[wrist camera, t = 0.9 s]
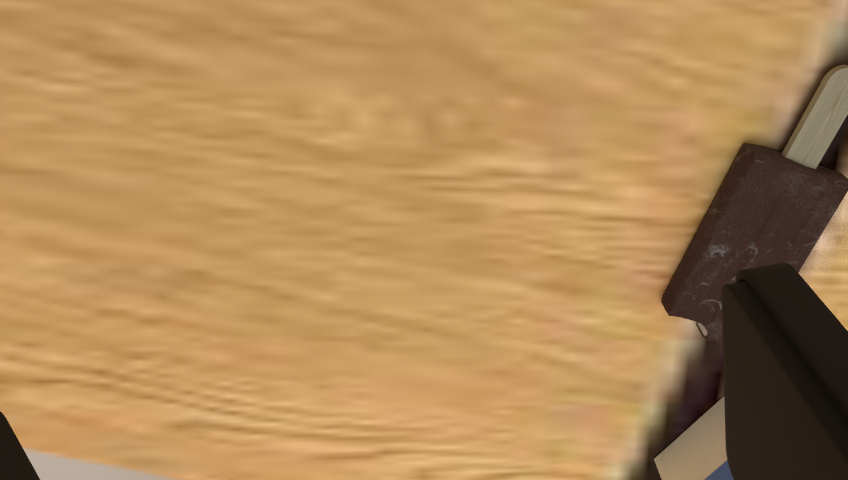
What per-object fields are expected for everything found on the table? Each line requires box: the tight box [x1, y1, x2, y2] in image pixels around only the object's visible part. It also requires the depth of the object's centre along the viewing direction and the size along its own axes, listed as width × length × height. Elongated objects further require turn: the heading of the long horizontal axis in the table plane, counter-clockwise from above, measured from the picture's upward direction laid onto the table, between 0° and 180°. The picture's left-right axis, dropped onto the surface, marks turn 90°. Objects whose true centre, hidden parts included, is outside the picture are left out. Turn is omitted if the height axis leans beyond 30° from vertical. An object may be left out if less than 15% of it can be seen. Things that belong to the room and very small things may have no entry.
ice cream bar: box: [661, 65, 848, 343], centre depth 40 cm, size 5×2×15 cm
